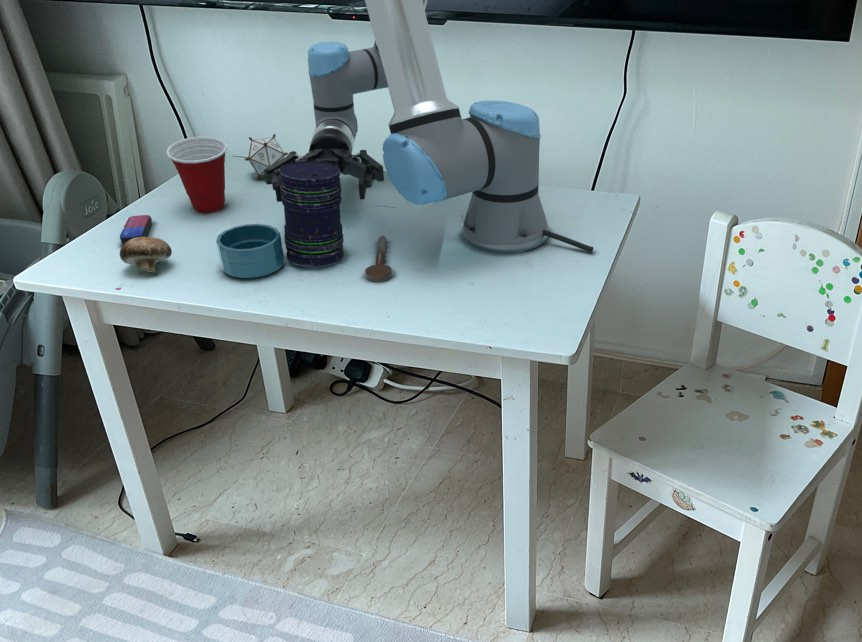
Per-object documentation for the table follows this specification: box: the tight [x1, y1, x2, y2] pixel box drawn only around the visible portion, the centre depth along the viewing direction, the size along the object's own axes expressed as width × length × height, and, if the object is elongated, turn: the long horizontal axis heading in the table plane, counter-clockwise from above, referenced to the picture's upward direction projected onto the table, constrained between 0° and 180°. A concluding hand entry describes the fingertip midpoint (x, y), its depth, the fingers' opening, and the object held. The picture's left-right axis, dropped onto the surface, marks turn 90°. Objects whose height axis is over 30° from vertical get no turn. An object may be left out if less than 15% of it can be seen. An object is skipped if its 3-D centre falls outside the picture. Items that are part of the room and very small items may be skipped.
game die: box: [244, 133, 290, 181], centre depth 182 cm, size 9×8×10 cm
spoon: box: [364, 235, 393, 283], centre depth 153 cm, size 15×4×1 cm, turn 4°
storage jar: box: [280, 161, 345, 268], centre depth 150 cm, size 10×10×15 cm
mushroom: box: [119, 236, 173, 274], centre depth 149 cm, size 8×8×6 cm
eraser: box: [119, 214, 153, 246], centre depth 161 cm, size 11×4×2 cm, turn 9°
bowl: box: [215, 223, 285, 279], centre depth 150 cm, size 10×10×6 cm
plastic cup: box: [165, 136, 228, 214], centre depth 168 cm, size 11×11×12 cm
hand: (319, 192), depth 148 cm, fingers open, 13 cm apart
